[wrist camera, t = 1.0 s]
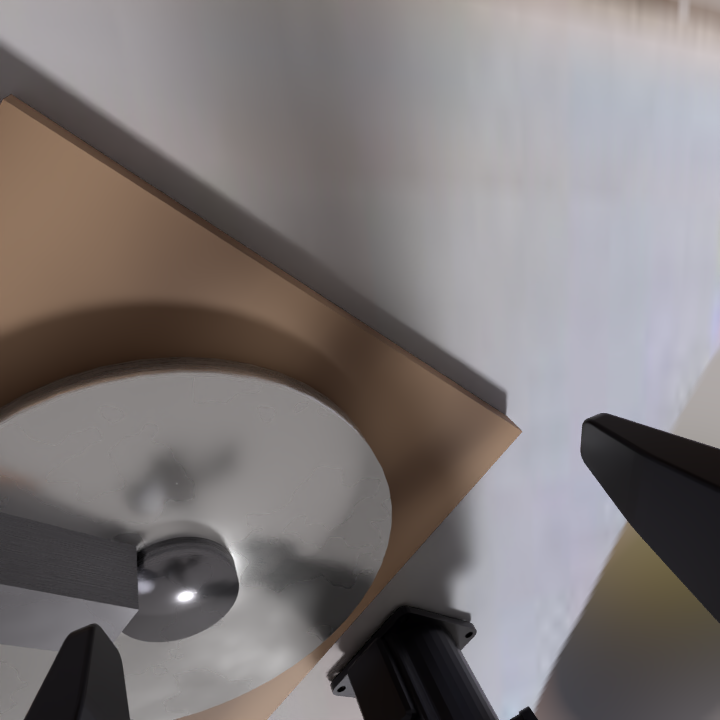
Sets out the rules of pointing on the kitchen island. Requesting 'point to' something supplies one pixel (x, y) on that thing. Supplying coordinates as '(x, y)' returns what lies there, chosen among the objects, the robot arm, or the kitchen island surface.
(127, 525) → the handwheel
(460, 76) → the kitchen island surface
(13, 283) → the wheel base
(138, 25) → the kitchen island surface
